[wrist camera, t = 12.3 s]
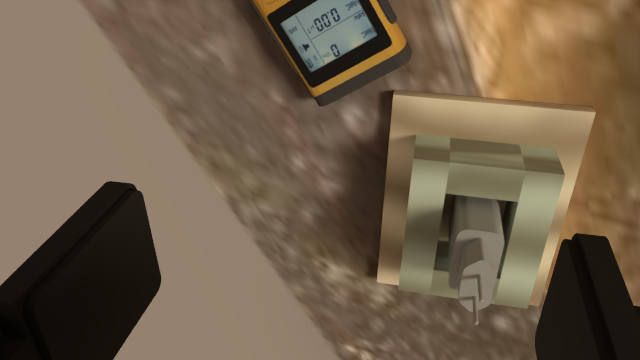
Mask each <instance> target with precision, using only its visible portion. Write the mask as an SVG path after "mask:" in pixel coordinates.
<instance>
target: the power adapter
mask: <svg viewBox="0 0 640 360" xmlns="http://www.w3.org/2000/svg"><path fill="white" fill-rule="evenodd" d="M503 248H504V235H503V228H502V222H501V215H500V208H499V201H498V200H497V199H488V198H480V197H471V196H463V195H454V196H453V202H452V208H451V214H450V219H449V286H450V288H451V289H453V290H455V291H457V292H458V299H459V302H460V303H461V304H462V305H463V306H464V307H465V308H466V309H467V310H469V311H470V312H473V314H474V324H475V325H478V310H480V309H482V308H485V307H487V306H488V305H489V304H490V302H491V298H492V294H493V289H494V286H495V281H496V277H497V273H498V269H499V265H500V260H501V256H502V252H503Z"/></svg>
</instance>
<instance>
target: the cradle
mask: <svg viewBox="0 0 640 360" xmlns="http://www.w3.org/2000/svg"><path fill="white" fill-rule="evenodd" d="M595 114H596V112H595V110H594V109H593V107H586V106H574V105H563V104H551V103H540V102H528V101H517V100H505V99H493V98H482V97H470V96H459V95H447V94H436V93H424V92H412V91H401V90H394V94H393V103H392V114H391V126H390V137H389V148H388V160H387V171H386V182H385V194H384V205H383V217H382V228H381V239H380V251H379V262H378V274H377V282H379V283H386V284H393V285H399V288H398V290H404V291H411V292H417V293H424V294H431V295H438V296H444V297H451V298H458V292H457V291H455V290H453V289H451V288H450V286H449V219H450V214H451V208H452V202H453V196H454V195H463V196H471V197H480V198H488V199H497V200H498V201H499V208H500V215H501V222H502V228H503V235H504V248H503V252H502V256H501V260H500V265H499V269H498V273H497V277H496V281H495V286H494V289H493V294H492V298H491V302H490V303H492V304H498V305H505V306H512V307H518V308H525V309H528V305H536V306H539V303H540V300H541V297H542V293H543V290H544V286H545V283H546V280H547V276H548V273H549V269H550V266H551V263H552V259H553V256H554V253H555V249H556V246H557V242H558V239H559V236H560V232H561V229H562V225H563V222H564V219H565V215H566V212H567V208H568V205H569V202H570V198H571V195H572V192H573V188H574V185H575V181H576V178H577V175H578V171H579V168H580V164H581V161H582V158H583V154H584V151H585V148H586V144H587V141H588V137H589V134H590V131H591V127H592V124H593V120H594V117H595Z"/></svg>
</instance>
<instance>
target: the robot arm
mask: <svg viewBox="0 0 640 360" xmlns="http://www.w3.org/2000/svg"><path fill="white" fill-rule="evenodd" d="M160 284H161V274H160V270H159V265H158V261H157V256H156V252H155V248H154V243H153V239H152V234H151V229H150V225H149V220H148V216H147V211H146V207H145V202H144V198H143V195H142V193H141V192H140V191H138V190H137V189H136V187H135V186H134V185H133V184H130V183H121V182H112V181H110V182H106V183H105V184H104V185H103V186H102V187H101V188H100V189H99V190H98V191H97V192H96V193H95V194H94V195H93V196H92V197H90V198H89V199H88V200H87V201H86V202H85V203H84V204H83V205H82V206H81V207H80V208H79V209H78V210H77V211H76V212H75V213H74V214H73V215H72V216H71V217H70V218H69V219H68V220H67V221H66V222H65V223H64V224H63V225H62V226H61V227H60V228H59V229H58V230H57V231H56V232H55V233H54V234H53V235H52V236H51V237H50V238H49V239H48V240H47V241H45V243H43V244H42V245H41V246H40V247H39V248H38V249H37V250H36V251H35V252H34V253H33V254H32V255H31V256H30V257H29V258H28V259H27V260H26V261H25V262H24V263H23V264H22V265H21V266H20V267H19V268H18V269H17V270H16V271H15V272H14V273H13V274H12V275H11V276H10V277H9V278H8V279H7V280H6V281H5V282H4V283H3V284H2V285H1V286H0V360H113V359H114V357H115V356H116V354H117V353H118V351H119V350H120V348H121V347H122V345H123V344H124V342H125V340H126V339H127V337H128V336H129V334H130V333H131V331H132V329H133V328H134V327H135V325H136V324H137V322H138V321H139V319H140V318H141V316H142V314H143V313H144V312H145V310H146V309H147V307H148V306H149V304H150V303H151V301H152V299H153V298H154V296H155V295H156V293H157V292H158V290H159V287H160ZM535 349H536V355H537V360H640V307H639V306H633V303H632V301H631V298H630V295H629V293H628V290H627V288H626V285H625V282H624V280H623V277H622V274H621V272H620V269H619V267H618V264H617V261H616V259H615V256H614V254H613V251H612V248H611V246H610V243H609V241H608V239H607V238H606V237H605V236H596V235H587V234H578V233H576V234H574V236H573V237H572V240H568V239H564V240H563V241H562V243H561V246H560V250H559V253H558V257H557V260H556V264H555V267H554V271H553V274H552V278H551V281H550V285H549V288H548V292H547V295H546V299H545V302H544V305H543V309H542V312H541V316H540V319H539V323H538V326H537V330H536V336H535Z"/></svg>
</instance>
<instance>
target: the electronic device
mask: <svg viewBox="0 0 640 360" xmlns="http://www.w3.org/2000/svg"><path fill="white" fill-rule="evenodd" d="M250 2H251V5H252V7H254V8H255V10H256V12H257V15H258V16H260V18H261V19H262V21H263V24H264V25H265V26H266V27H267V29H268V30H269V34H271V35H272V37H273V38H274V41H275V43H277V45H278V46H279V48H280V49H281V51H282V52H283V54H284V56H285V57H286V59H287V60H288V62H289V64H290V65H291V67H292V68H293V70H294V71H295V73H296V74H297V76H298V77H299V76H301V78H302V79H303V81H304V82H305V84H306V86H307V87H308V89H309V90H310V92H311V94H312V95H313V97H314V99H315V100H316V102H317V103H318V105H319V106H326V105H328V104H330V103H332V102H334V101H336V100H338V99H340V98H342V97H343V96H345V95H347V94H349V93H351V92H353V91H355V90H357V89H359V88H361V87H363V86H364V85H366V84H368V83H370V82H372V81H374V80H376V79H378V78H380V77H382V76H384V75H386V74H387V73H389V72H391V71H393V70H395V69H397V68H399V67H401V66H402V65H404V64H405V63H406V62H408V61H409V60H410V57H411V53H412V50H411V48H410V46H409V44H408V42H407V41H406V39H405V38H404V36H403V34H402V32H401V30H400V28H399V26H398V25H397V23H396V19H397V17H396V15H395V13H394V12H393V10H392V8H391V6H390V4H389V2H388V0H250Z"/></svg>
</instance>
